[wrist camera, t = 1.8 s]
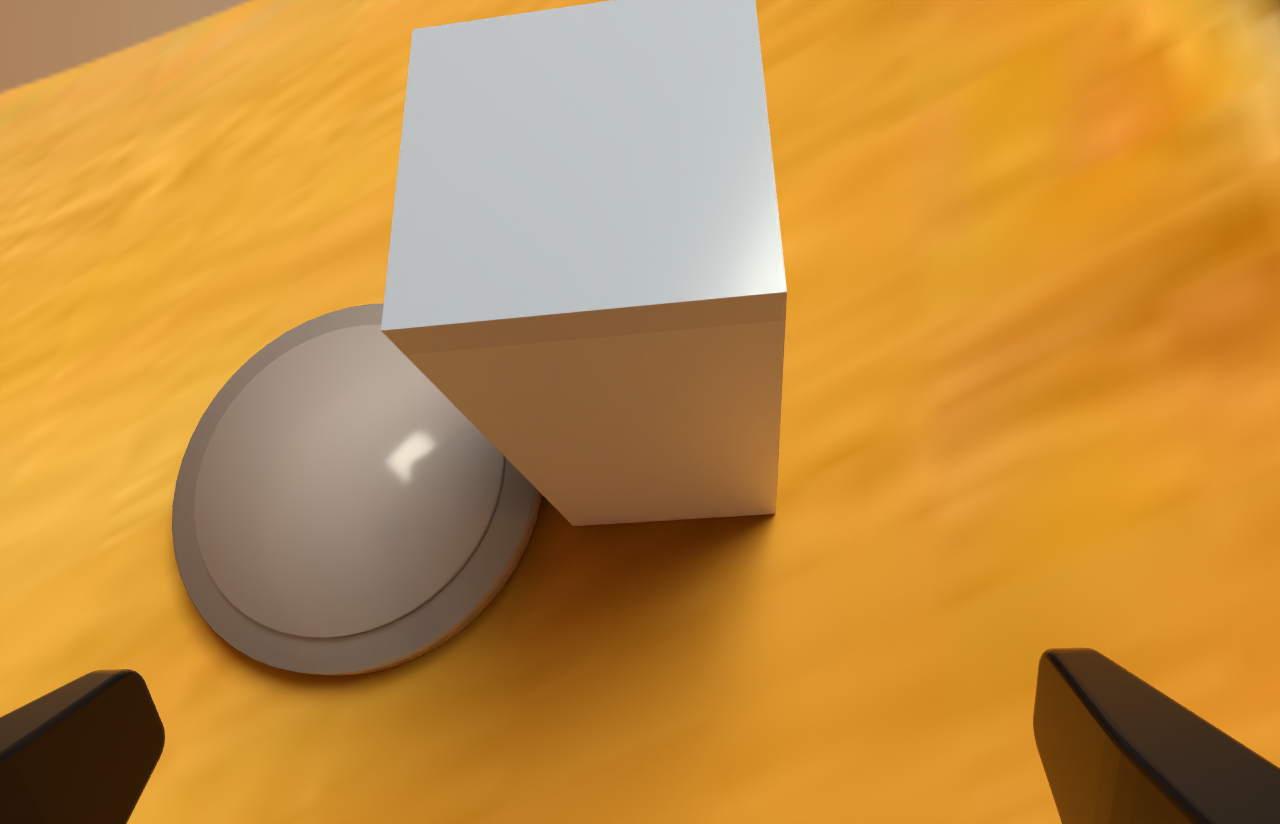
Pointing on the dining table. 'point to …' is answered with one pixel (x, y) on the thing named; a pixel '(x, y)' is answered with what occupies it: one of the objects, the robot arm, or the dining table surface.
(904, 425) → the dining table surface
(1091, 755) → the robot arm
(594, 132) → the tall pale pillar
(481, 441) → the taupe domed disc
